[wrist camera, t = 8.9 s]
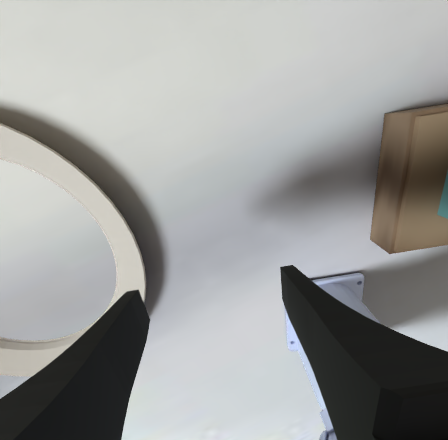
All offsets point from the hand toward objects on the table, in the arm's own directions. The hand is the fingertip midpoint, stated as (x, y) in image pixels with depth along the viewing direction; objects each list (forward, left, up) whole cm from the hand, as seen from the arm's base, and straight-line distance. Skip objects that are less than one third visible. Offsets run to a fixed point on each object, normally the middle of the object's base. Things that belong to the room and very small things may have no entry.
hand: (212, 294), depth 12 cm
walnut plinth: (+1, -20, -9) cm, 22 cm away
